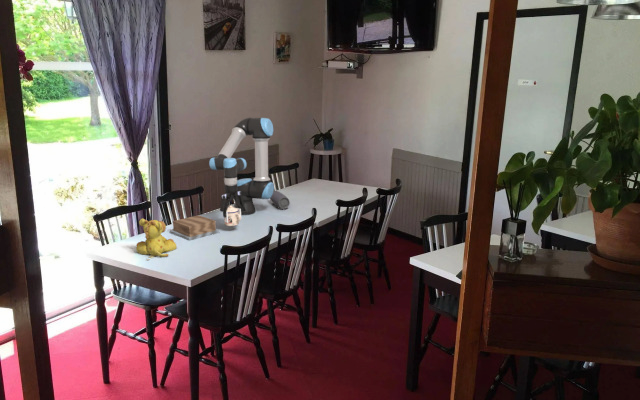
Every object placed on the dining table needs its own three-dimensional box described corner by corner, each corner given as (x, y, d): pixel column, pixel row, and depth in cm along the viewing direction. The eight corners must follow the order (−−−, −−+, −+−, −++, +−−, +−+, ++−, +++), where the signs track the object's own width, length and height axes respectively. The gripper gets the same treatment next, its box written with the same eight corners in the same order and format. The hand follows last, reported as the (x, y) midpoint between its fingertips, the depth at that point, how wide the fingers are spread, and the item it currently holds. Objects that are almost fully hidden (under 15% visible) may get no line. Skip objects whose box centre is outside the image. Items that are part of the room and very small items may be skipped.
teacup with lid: (221, 224, 316) (219, 206, 313) (231, 221, 323) (230, 202, 320) (235, 228, 309) (234, 209, 306) (245, 224, 317) (245, 205, 314)
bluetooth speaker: (290, 209, 365) (290, 195, 363) (278, 211, 362) (277, 197, 360) (281, 202, 386) (280, 189, 384) (268, 203, 383) (268, 190, 380)
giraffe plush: (179, 245, 292) (176, 212, 287) (169, 259, 269) (167, 224, 264) (142, 246, 291) (139, 212, 286) (129, 260, 268) (126, 225, 263)
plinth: (199, 225, 328) (199, 214, 326) (219, 232, 314) (218, 220, 312) (170, 233, 313) (169, 221, 312) (189, 240, 299) (188, 228, 297)
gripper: (219, 188, 300) (221, 225, 305) (249, 182, 315) (251, 217, 320) (212, 186, 305) (214, 223, 310) (241, 180, 320) (243, 215, 326)
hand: (232, 220), depth 315 cm, fingers closed on teacup with lid, 9 cm apart
